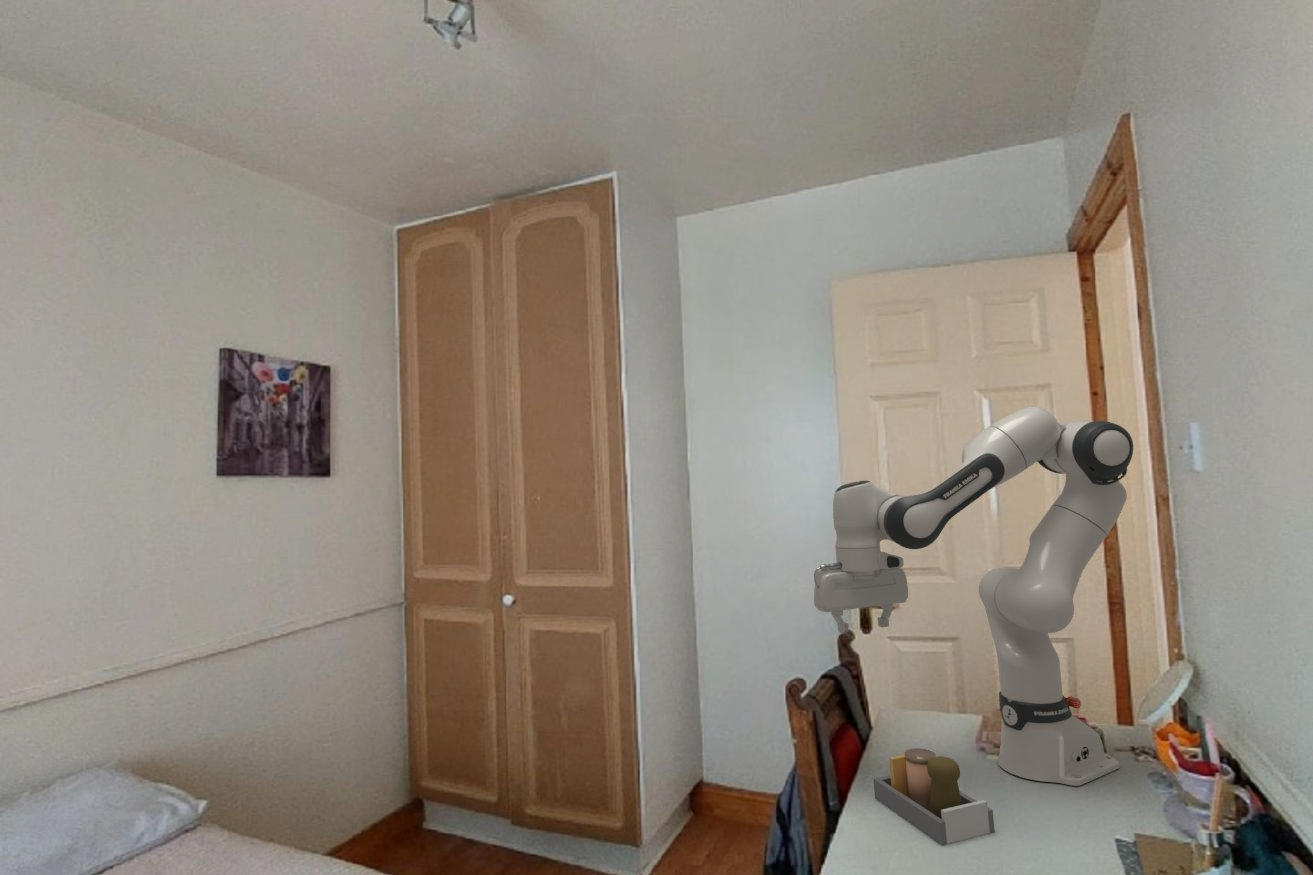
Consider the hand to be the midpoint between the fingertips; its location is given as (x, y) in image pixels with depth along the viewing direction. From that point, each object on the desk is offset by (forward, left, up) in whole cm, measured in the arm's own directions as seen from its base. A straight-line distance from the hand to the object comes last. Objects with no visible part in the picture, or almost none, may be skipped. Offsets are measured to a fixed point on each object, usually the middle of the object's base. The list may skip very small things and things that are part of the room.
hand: (863, 629), depth 140 cm
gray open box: (+1, +18, -29) cm, 34 cm away
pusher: (+1, +13, -29) cm, 32 cm away
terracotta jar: (+1, +16, -28) cm, 33 cm away
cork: (+1, +22, -29) cm, 36 cm away
